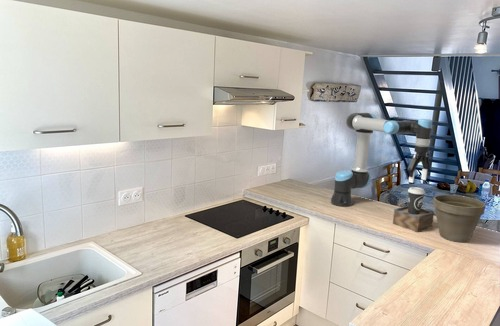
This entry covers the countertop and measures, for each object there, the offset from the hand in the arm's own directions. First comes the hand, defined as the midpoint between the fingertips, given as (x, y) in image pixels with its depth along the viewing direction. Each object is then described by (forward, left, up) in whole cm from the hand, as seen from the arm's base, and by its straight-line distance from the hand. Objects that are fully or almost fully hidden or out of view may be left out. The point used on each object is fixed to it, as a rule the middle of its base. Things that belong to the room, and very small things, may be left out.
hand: (417, 181), depth 213 cm
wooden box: (0, 0, -28) cm, 28 cm away
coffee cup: (0, 0, -20) cm, 20 cm away
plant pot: (+23, +3, -28) cm, 37 cm away
